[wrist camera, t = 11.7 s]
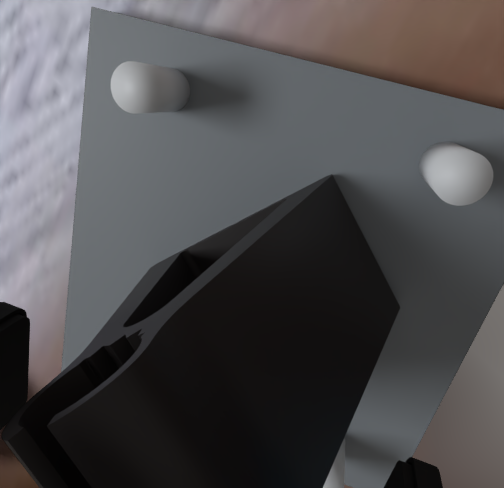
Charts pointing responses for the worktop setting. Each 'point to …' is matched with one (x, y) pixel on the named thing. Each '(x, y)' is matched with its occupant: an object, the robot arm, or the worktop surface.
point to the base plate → (284, 184)
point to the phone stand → (223, 361)
